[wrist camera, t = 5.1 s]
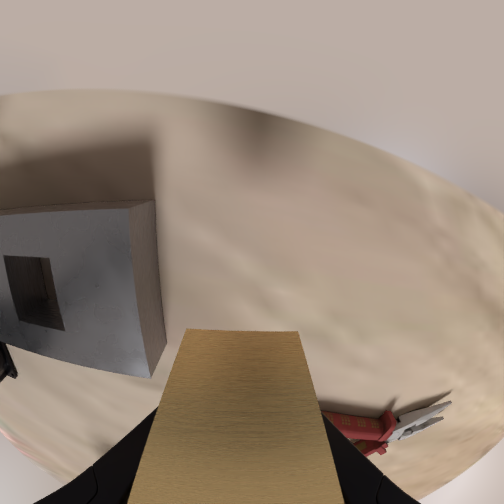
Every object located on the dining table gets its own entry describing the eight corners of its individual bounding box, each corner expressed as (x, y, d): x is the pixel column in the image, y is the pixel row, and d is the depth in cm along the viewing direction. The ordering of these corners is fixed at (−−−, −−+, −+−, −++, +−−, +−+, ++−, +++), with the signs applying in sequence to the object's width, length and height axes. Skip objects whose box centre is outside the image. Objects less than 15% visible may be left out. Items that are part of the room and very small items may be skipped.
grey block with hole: (166, 343, 19) (150, 378, 15) (15, 317, 19) (-10, 337, 15) (155, 199, 16) (128, 208, 12) (-6, 210, 16) (-38, 219, 12)
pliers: (429, 433, 24) (437, 447, 21) (265, 471, 25) (265, 489, 22) (456, 363, 21) (469, 378, 18) (253, 409, 22) (253, 431, 19)
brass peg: (287, 406, 10) (313, 598, 2) (195, 404, 10) (161, 593, 2) (297, 331, 9) (363, 588, 1) (186, 328, 9) (107, 579, 1)
